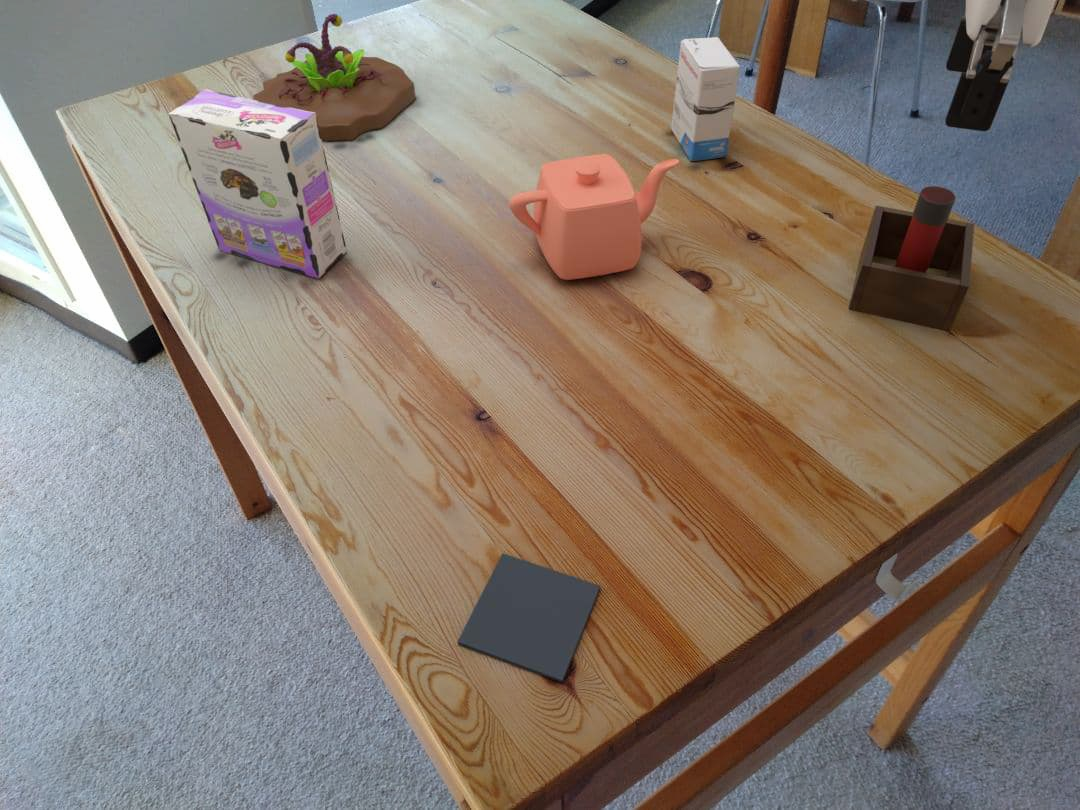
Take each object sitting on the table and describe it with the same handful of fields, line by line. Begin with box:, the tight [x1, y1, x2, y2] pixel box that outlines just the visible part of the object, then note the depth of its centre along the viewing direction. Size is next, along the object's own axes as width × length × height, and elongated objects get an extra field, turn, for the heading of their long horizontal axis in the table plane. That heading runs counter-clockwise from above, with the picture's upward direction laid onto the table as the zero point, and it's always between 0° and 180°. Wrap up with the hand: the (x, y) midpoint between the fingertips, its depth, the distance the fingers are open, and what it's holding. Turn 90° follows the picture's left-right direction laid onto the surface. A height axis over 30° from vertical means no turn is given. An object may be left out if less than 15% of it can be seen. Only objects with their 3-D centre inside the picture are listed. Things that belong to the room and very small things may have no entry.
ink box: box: [670, 36, 741, 162], centre depth 103 cm, size 8×5×12 cm, turn 11°
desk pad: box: [457, 553, 601, 683], centre depth 62 cm, size 8×8×1 cm
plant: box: [252, 13, 416, 142], centre depth 113 cm, size 20×20×11 cm
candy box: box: [168, 88, 348, 279], centre depth 87 cm, size 14×6×16 cm, turn 65°
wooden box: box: [848, 205, 975, 332], centre depth 85 cm, size 10×11×6 cm
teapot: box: [509, 153, 680, 281], centre depth 89 cm, size 12×18×10 cm, turn 104°
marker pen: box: [894, 185, 956, 273], centre depth 83 cm, size 3×3×11 cm
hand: (965, 97), depth 68 cm, fingers open, 9 cm apart
